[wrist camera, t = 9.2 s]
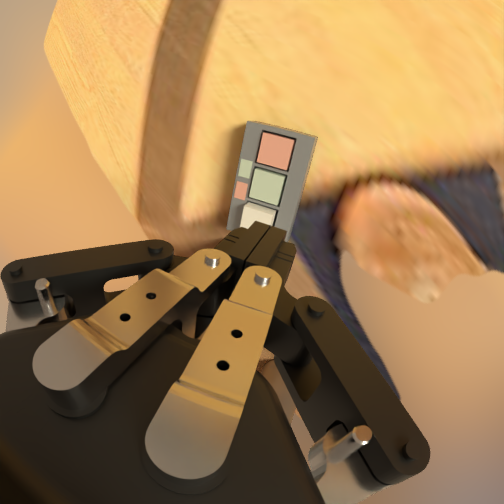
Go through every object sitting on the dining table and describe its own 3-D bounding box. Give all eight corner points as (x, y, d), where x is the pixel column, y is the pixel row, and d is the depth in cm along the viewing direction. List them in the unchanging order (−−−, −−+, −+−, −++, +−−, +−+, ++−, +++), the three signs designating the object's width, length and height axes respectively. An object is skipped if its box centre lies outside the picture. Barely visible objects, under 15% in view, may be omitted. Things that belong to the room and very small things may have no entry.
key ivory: (269, 236, 40) (265, 241, 38) (243, 227, 40) (238, 232, 39) (276, 210, 38) (272, 215, 36) (249, 201, 38) (244, 206, 37)
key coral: (289, 167, 36) (286, 170, 34) (261, 159, 36) (256, 161, 35) (296, 139, 34) (293, 140, 32) (267, 132, 34) (263, 132, 33)
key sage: (280, 201, 38) (277, 205, 37) (253, 193, 39) (249, 196, 37) (287, 174, 36) (284, 177, 35) (259, 166, 37) (255, 168, 35)
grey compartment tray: (289, 239, 42) (284, 249, 39) (234, 221, 44) (225, 229, 41) (317, 137, 34) (315, 138, 31) (254, 121, 36) (246, 121, 33)
